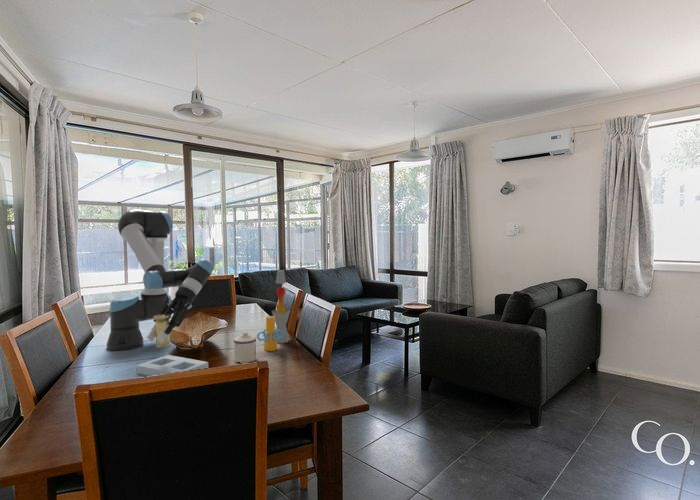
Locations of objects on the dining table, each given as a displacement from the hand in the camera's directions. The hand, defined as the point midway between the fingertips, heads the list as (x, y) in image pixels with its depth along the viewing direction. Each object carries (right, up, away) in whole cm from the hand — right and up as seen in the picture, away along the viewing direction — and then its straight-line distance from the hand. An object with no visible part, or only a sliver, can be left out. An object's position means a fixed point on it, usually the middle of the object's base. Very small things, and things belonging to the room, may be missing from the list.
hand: (154, 340), depth 144 cm
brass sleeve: (+2, -3, +3) cm, 5 cm away
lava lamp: (+40, -11, +45) cm, 61 cm away
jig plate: (+6, -12, +2) cm, 14 cm away
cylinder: (+38, -12, +30) cm, 50 cm away
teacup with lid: (+29, -12, +16) cm, 36 cm away
